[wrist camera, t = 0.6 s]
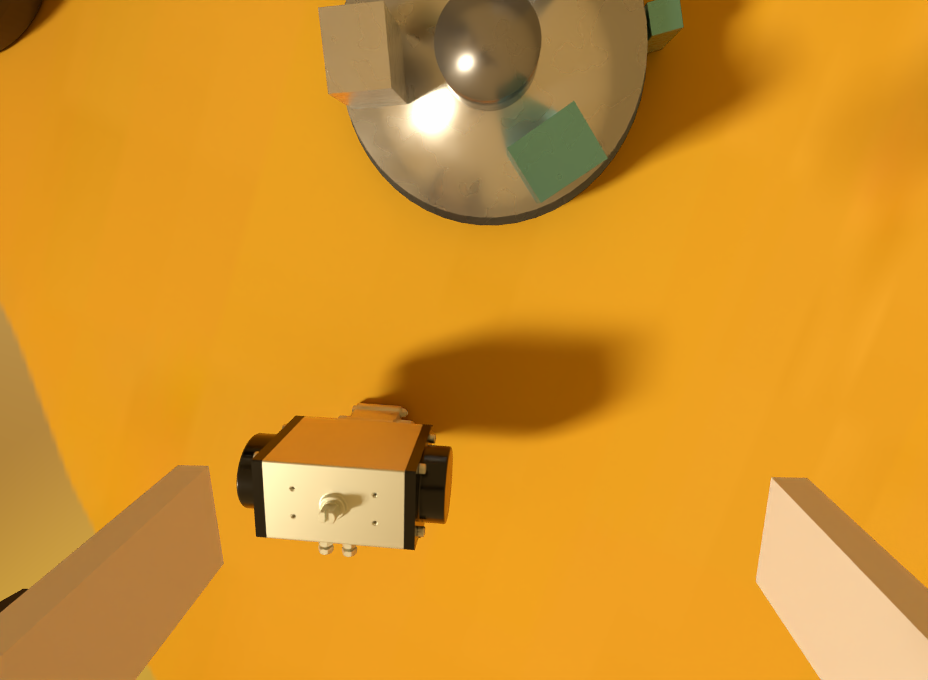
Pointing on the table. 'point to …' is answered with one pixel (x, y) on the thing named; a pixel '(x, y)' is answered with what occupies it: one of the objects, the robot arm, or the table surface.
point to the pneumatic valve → (347, 480)
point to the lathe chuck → (487, 93)
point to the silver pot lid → (660, 30)
